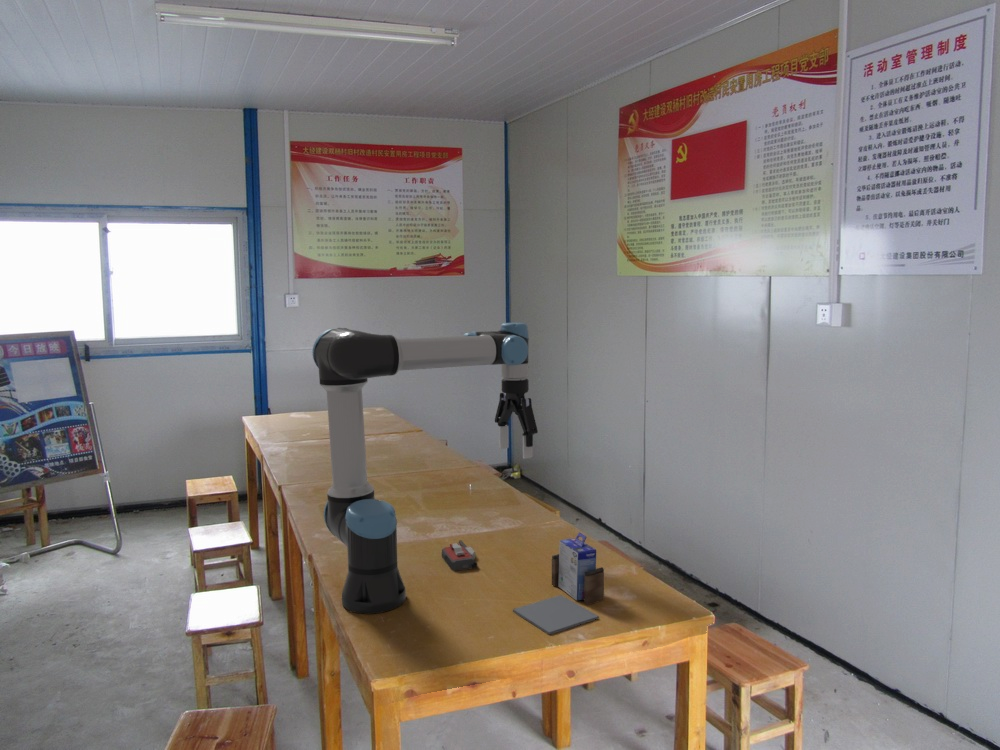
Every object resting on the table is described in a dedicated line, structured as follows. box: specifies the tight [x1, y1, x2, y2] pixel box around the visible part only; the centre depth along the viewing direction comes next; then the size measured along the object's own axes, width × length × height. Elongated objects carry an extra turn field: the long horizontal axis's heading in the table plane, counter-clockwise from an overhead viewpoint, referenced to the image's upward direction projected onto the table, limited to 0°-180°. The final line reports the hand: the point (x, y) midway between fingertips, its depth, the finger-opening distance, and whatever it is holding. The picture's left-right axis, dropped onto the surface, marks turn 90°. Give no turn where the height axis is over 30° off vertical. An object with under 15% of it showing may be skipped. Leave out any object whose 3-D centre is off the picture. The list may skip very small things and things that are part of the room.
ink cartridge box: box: [557, 532, 597, 602], centre depth 186 cm, size 10×6×14 cm, turn 24°
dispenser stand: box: [551, 553, 605, 606], centre depth 187 cm, size 5×14×8 cm, turn 33°
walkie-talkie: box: [441, 539, 478, 572], centre depth 211 cm, size 9×4×20 cm
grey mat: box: [512, 594, 600, 636], centre depth 175 cm, size 14×14×1 cm
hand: (515, 453), depth 216 cm, fingers open, 13 cm apart
